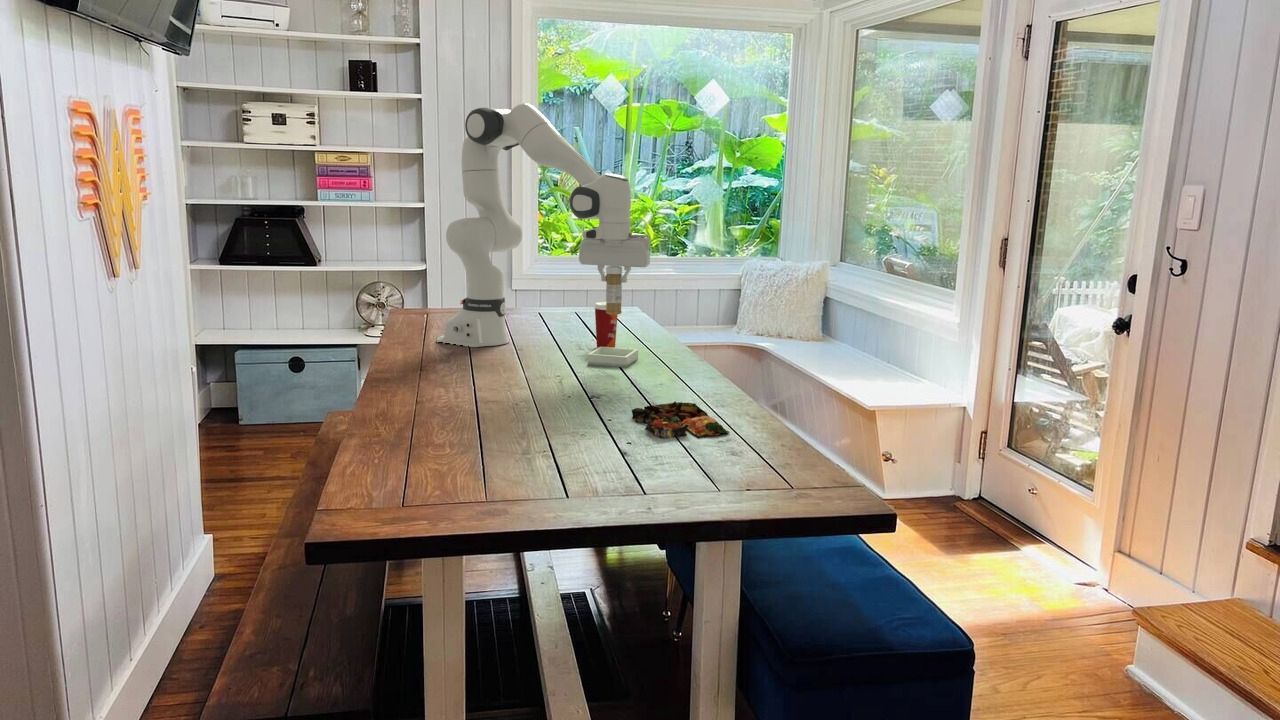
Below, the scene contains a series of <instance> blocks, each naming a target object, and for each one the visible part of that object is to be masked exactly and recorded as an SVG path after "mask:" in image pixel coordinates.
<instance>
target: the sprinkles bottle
mask: <svg viewBox="0 0 1280 720" xmlns="http://www.w3.org/2000/svg"><path fill="white" fill-rule="evenodd" d="M622 267H623V266H606V268H605V275H607V282H606V285H605V286H606V288H605V289H606V291H605V292H606V294H605V302H606V313H607V314H618V315H621V314H622V295H623V293H622V291H623V288H622V287H623V285H622V283H623V282H620V280H621V279H620V276H623V268H622Z"/></svg>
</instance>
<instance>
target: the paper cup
mask: <svg viewBox="0 0 1280 720" xmlns="http://www.w3.org/2000/svg"><path fill="white" fill-rule="evenodd" d="M593 309H594V314H595V315H594V316H595V317H594V319H595V320H594V321H595V338H596V339H595V340H596V349H597V348H599V347H612V348H616V340H617V327H618V326H617V325H618V315H619V314H607V313H606V301H600V302H595V303H594V307H593Z"/></svg>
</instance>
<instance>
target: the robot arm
mask: <svg viewBox="0 0 1280 720" xmlns="http://www.w3.org/2000/svg"><path fill="white" fill-rule="evenodd" d="M464 126H465V132H466V133H465V134H466V135H467V137H465V138H464V140H463V142H462V148H461V149H462V151H461V177H462V179H461V180H462V191H463V193H462V194H463V197H464V200H466V201H467V202H468V203H469V204H471V205H473V206H474V207H475V209H476V210H477V212H478V213H477V214H478V217H465V218H464V217H463V218H459V219H457V220H454V221H451V222H450V224H449V225H448V227H447V229H446V231H445V239H446V240H445V241H446V243H447V246H448V247H449V249H450V250H451V251H452V252H453V253H455V254H456V255H457V256H458V258H459V259H460V261H461V262H462V265H463V267H464V270H465V274H466V282H467V285H466V286H467V297H466V298H463V299H462V300H460V305H462V309H461V310H460V311H458V312H457V313H456V314H455V315H453V316H452V317H451V318H449V319H448V320H447V321H446V322H445V326H444V329H443V330H444V331H443V335H440V336H438V337H437V339H436V342H437V343H438V342H443V343H442V344H445V343H450V344H449V345H453V344H456V345H455V346H460V345H463V347H468V346H469V347H468V348H479V347H492V346H493V347H495V346H501V345H506V344H508V343H509V342H510V338H509V335H508V333H507V332H508V331H507V326H506V319H505V318H506V317H505V315H506V298H505V297H504V274H503V272H502V270H501V269H500V268H498V267H497V266H495V265H493V263H492V260H491V257H490V254H493V253H494V254H495V253H505V252H508V251H510V250H514V249H516V248H518V247H519V246H520V244H521V241H522V238H523V237H522V236H523V231H522V227H521V224H520V223H519V222H518V221H517V220H516V219H515V218H513V216H512V215H511V214H510V213H509V210H508V209H507V207H506V205H505V203H504V201H503V198H502V194H501V188H500V187H501V185H500V173H499V171H500V170H499V163H498V161H499V160H498V159H499V157H498V155H499V153H500V151H501V150H504V151H508V150H509V151H510V149H512V148H515V147H517V146H520V148H522V150H523V151H524V152H525V154H526V155H527V156H528V157H529V158H530V159H531V160H532V161H533V162H534V163H536V164H538V165H539V166H542V167H547V168H549V169H550V168H551V169H553V170H554V169H555V170H558V171H561V172H563V173H566V174H568V175H569V176H571V177H572V178H573V179H574V180H575V181H576V182H577V183H578V184H579V186H576V187H575V188H574V189H573V190H572V192H571V194H570V197H569V207H570V211H571V213H572V214H573V215H574V217H576V218H578V219H582V220H598V222H599V223H598V226H595V227H592V228H590V229H587V230H584V231H582V239H583V240H582V241H581V242H580V244H579V251H578V261H579V263H580V264H581V265H584V266H585V265H587V266H597V271H598V272H599V275H600V276H601V277H600V278H601V282H605V283H607V275H606V272H605V271H604V269H605V266H606V267H608V266H620V267H623V269H624V270H623V271H625V273H624V275H622V276H620V279H621V280H620V282H622V283H623V284H625V283H627V282H628V276H629V274H630V272H631V270H632V268H647V267H649V265H650V263H651V258H650V257H651V255H650V248H651V239H650V237H649V236H648V235H646V234H645V233H631V217H630V210H631V206H632V192H631V185H630V181H629V179H628V177H626V176H624V175H622V174H617V173H611V172H610V173H608V172H607V173H603V174H601V173H599V172H598V171H597V169H595V167H593V165H592V164H591V163H590V162H589V161H588V160H587V159H586V158H585V157H584V156H583V155H582V154H581V153H580V152H578V151H577V149H576V148H574V147H573V146H572V145H571V144H570V143H569V141H567V140H566V139H565V137H563V136H562V134H561V133H560V132H559V131H558V130H557V129H556V128H555V127H554V125H553V124H552V123H551V121H550V120H549V119H548V118H547V117H546V116H545V115H544V114H543V113H542V112H541V111H540V110H538V109H537V108H536V107H535V106H534V105H532V104H530V103H524V102H523V103H519V104H517V105H515V106H514V107H513V108H512V109H508V108H504V107H503V108H502V107H491V108H489V107H478V108H476V109H473V110H471V111H470V112H469V113H468V114H467V117H466V119H465V123H464Z"/></svg>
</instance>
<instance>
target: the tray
mask: <svg viewBox="0 0 1280 720" xmlns="http://www.w3.org/2000/svg"><path fill="white" fill-rule="evenodd" d="M638 360H639V349H637V348H625V347H624V348H623V347H615V348H612V347H599V348H597V347H596V348H595V349H593V350H592V351H591V352H589V353H587V365H591V366H602V367H613V368H628V367H630V366H631V365H632V364H633V363H635V362H637V361H638Z"/></svg>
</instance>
